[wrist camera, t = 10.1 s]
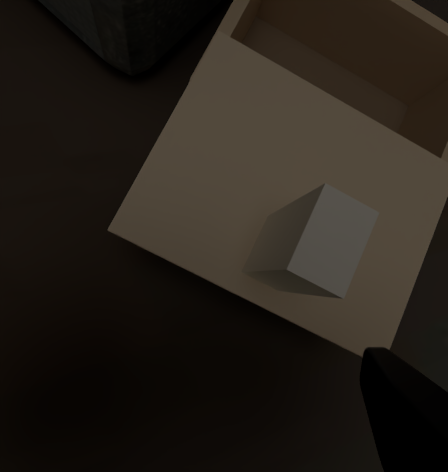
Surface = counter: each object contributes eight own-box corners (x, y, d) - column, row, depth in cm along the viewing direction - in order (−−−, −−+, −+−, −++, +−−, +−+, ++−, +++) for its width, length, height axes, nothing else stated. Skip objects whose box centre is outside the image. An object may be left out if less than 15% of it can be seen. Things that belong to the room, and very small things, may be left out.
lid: (374, 363, 15) (500, 414, 9) (109, 231, 14) (74, 201, 8) (447, 172, 16) (592, 119, 11) (216, 39, 15) (247, -96, 10)
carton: (361, 231, 22) (432, 214, 16) (181, 134, 21) (189, 79, 15) (413, 107, 23) (494, 52, 18) (249, 10, 22) (279, -82, 17)
